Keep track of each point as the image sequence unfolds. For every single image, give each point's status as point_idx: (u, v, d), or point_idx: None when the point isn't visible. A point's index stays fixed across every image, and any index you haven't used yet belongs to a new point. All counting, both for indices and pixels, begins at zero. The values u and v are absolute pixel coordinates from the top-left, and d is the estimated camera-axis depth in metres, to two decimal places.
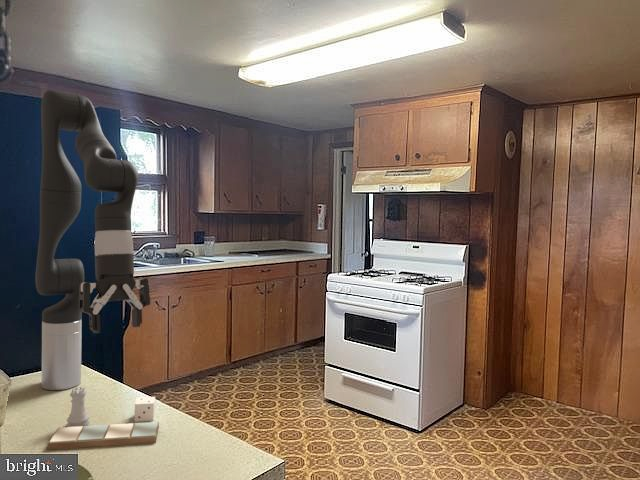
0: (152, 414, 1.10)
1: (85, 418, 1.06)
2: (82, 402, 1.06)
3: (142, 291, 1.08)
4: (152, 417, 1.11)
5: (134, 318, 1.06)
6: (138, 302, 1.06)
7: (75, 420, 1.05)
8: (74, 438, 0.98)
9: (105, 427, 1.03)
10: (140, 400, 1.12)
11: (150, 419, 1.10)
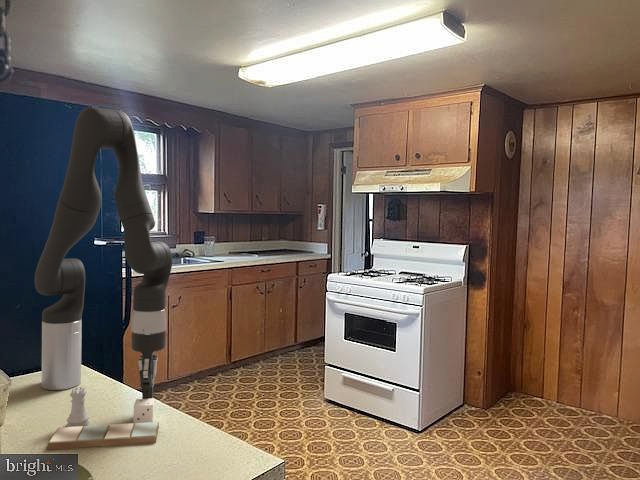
0: (151, 416, 1.09)
1: (85, 418, 1.06)
2: (82, 402, 1.06)
3: None
4: (151, 419, 1.09)
5: None
6: (153, 378, 1.15)
7: (75, 420, 1.05)
8: (74, 438, 0.98)
9: (105, 427, 1.03)
10: (139, 402, 1.10)
11: (149, 421, 1.09)
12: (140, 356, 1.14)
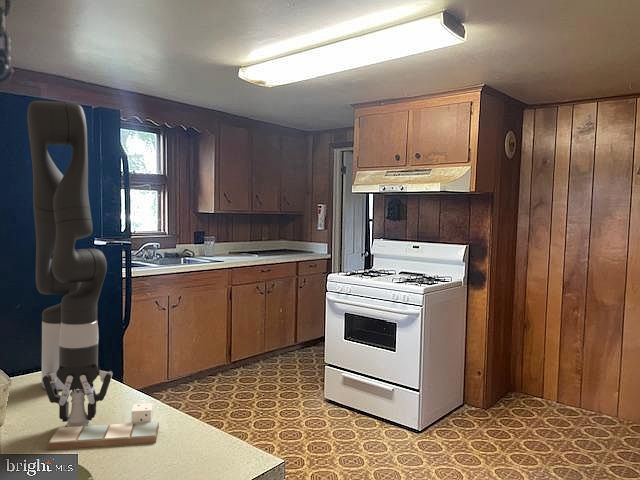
0: (149, 421, 1.07)
1: (85, 418, 1.06)
2: (82, 402, 1.06)
3: (54, 385, 1.05)
4: None
5: (67, 411, 1.06)
6: None
7: (75, 420, 1.05)
8: (74, 438, 0.98)
9: (105, 427, 1.03)
10: (137, 407, 1.08)
11: None
12: (72, 376, 1.04)
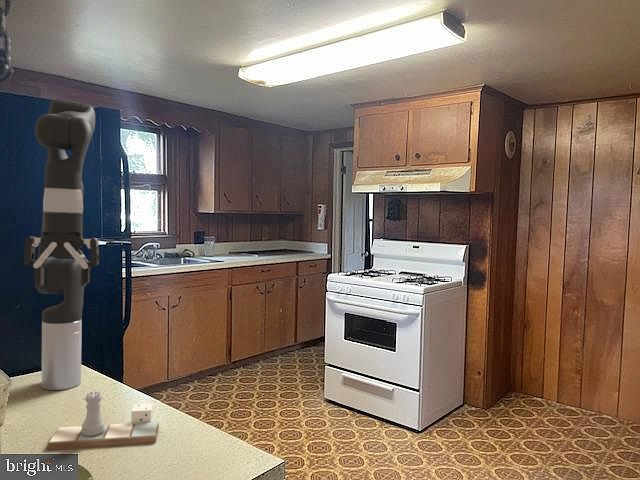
0: (149, 421, 1.07)
1: (101, 424, 1.00)
2: (98, 408, 1.00)
3: (33, 249, 1.05)
4: None
5: (42, 276, 1.05)
6: None
7: (91, 427, 0.99)
8: (74, 438, 0.98)
9: (105, 427, 1.03)
10: (137, 407, 1.08)
11: None
12: (56, 244, 1.04)
